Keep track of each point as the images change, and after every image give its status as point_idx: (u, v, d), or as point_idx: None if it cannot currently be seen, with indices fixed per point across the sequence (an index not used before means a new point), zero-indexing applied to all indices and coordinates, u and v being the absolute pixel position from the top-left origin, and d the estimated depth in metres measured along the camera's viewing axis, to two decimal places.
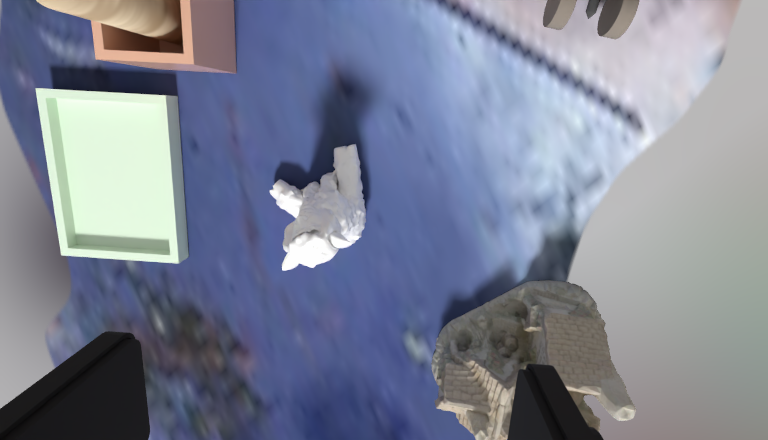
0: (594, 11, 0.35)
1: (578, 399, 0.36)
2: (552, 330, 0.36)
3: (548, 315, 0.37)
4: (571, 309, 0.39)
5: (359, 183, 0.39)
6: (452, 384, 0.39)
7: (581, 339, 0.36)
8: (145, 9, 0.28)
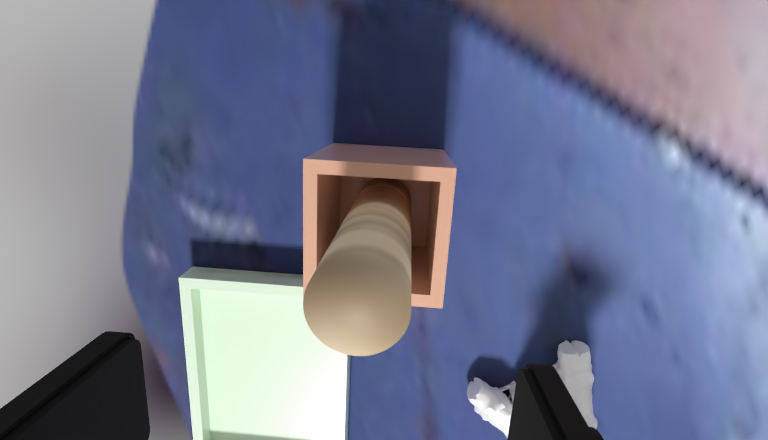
0: None
1: None
2: None
3: None
4: None
5: None
6: None
7: None
8: None
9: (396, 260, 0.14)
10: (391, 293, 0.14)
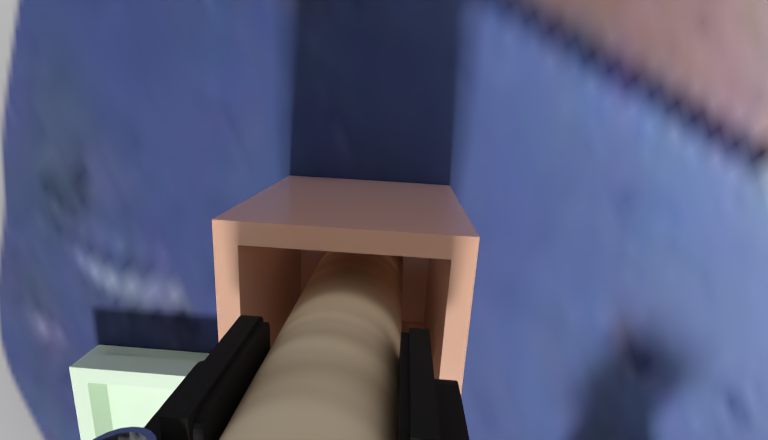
0: None
1: None
2: None
3: None
4: None
5: None
6: None
7: None
8: None
9: None
10: None
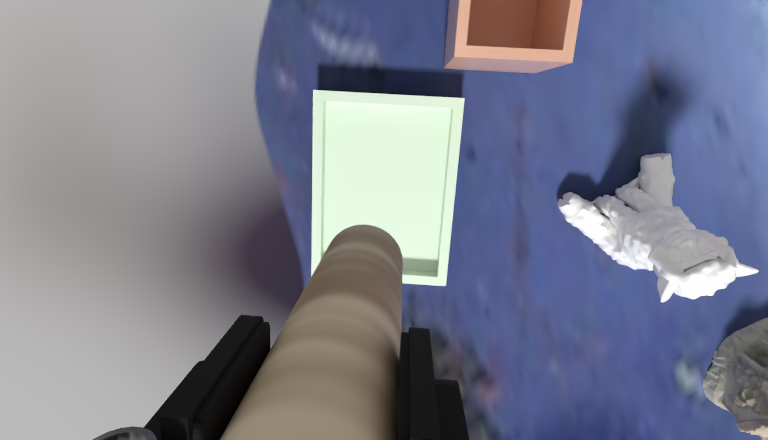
0: None
1: None
2: None
3: None
4: None
5: None
6: None
7: None
8: None
9: None
10: None
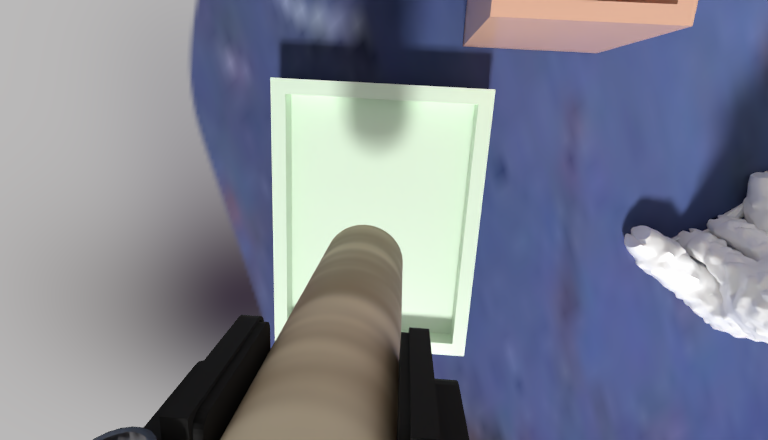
0: None
1: None
2: None
3: None
4: None
5: None
6: None
7: None
8: None
9: None
10: None
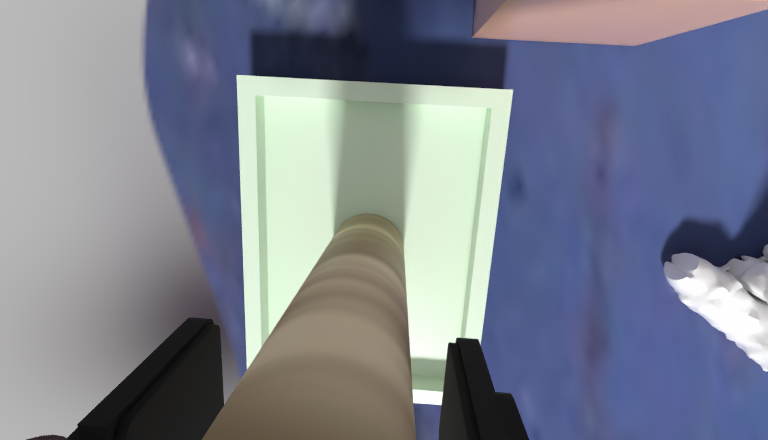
0: None
1: None
2: None
3: None
4: None
5: None
6: None
7: None
8: None
9: (386, 384, 0.07)
10: None
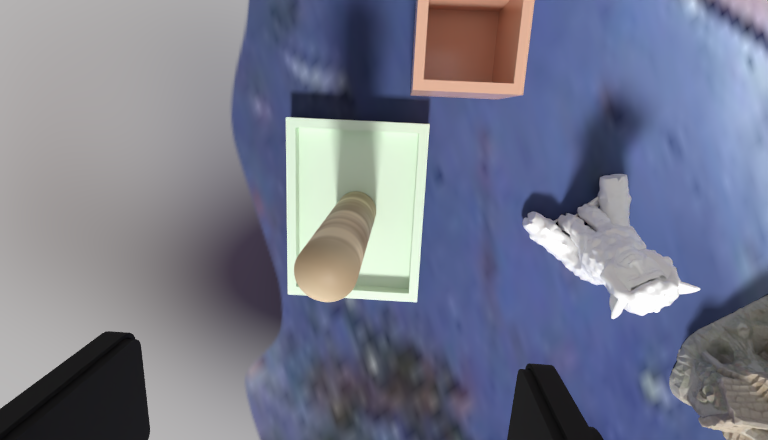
0: None
1: None
2: None
3: None
4: None
5: None
6: (736, 401, 0.35)
7: None
8: None
9: (350, 244, 0.24)
10: (345, 263, 0.23)
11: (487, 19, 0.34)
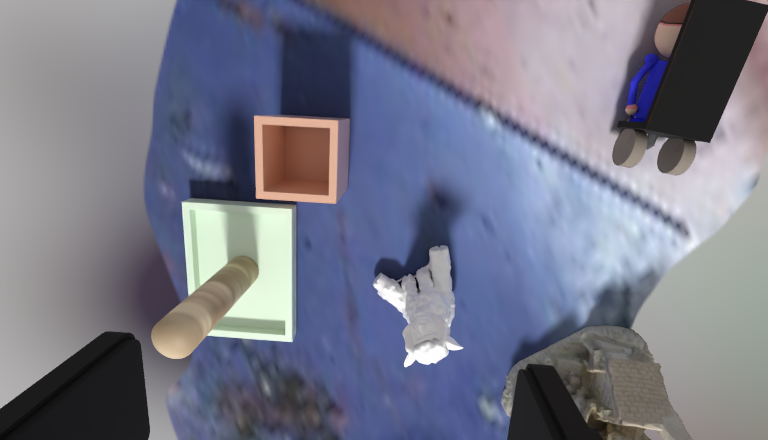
0: (652, 144, 0.43)
1: (641, 433, 0.42)
2: (616, 374, 0.43)
3: (611, 361, 0.43)
4: (628, 353, 0.46)
5: (450, 279, 0.46)
6: None
7: (642, 381, 0.42)
8: (223, 315, 0.39)
9: (193, 318, 0.34)
10: (186, 333, 0.33)
11: None
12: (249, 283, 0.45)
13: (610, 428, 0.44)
